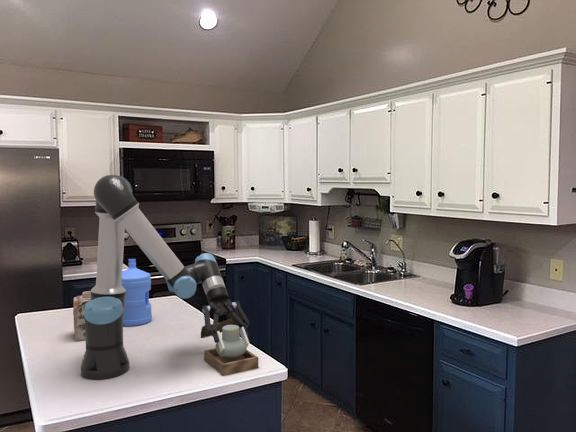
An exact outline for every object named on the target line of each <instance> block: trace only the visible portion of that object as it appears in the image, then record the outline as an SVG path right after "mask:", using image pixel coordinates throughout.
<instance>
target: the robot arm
mask: <svg viewBox="0 0 576 432" xmlns="http://www.w3.org/2000/svg"><path fill="white" fill-rule="evenodd" d="M93 196H94V199H95V208H94V209H95V211H94V213H95V214H96V216H98V218H99V223H98V225H99V226H98V239H97V240H98V241H97V258H96V274H95V276H96V277H95V278H96V279H95V285H94V286H93V287H92V288H91V289H90V291H91V298H90V301H89V302H87V303H86V305H85V310H84V317H85V340H84V341H85V351H84V353H83V358H82V362H81V364H80V375H81V376H82V377H83V378H85V379H90V380H105V379H110V378H114V377H118V376H122V374H125V373H127V372H128V371H129V370H130V360H129V357H128V354H127V352H126V349H125V347H124V346H125V345H124V326H123V317H124V313H125V308H126V306H125V292H126V290H125V289H124V288H123V287H122V272H123V264H124V252H125V251H124V250H125V249H124V247H125V231H126V232H127V233H128V234H129V236H130V237H131V239H133V241H134V242H135V243H136V244H137V246H138V247H139V248H140V249H141V251H142V252H143V253H144V254H145V256H146V257H147V258H148V259H149V261H150V262H151V263H152V265H154V267H155V268H156V270H158V272H159V273H160V274H161V276H162V277H163V278H164V279H165V281H166V285H167V289H168V291H169V292H171V293H174V294H175V295H176V296H177V297H178V298H180V299H189V298H191V297H193V296H194V295H195V293H196V291H197V285H199V284H202V287H203V290H204V293H205V296H206V300H207V303H208V305H203V307H202V309H201V312H202V315H203V318H204V326H205V329H206V334H211V336H210V337H212V338H213V341H214V343H215V344H216V343H218V346H219V349H220V352H223V351H224V349H225V347H224V344H223V341H222V334H221V333H220V331H217V325H218V323H219V317H220V316H227V317H229V318H231V319H232V320H233V321H234V322H235V323H236V325H237V326H239V333H240V338H241V339H243V340H244V341H245V343H246V347H247V348H248V347H249V345H250V341H249V338H248V337H249V332H248V329H247V328H248V327H249V326H250V324H251V323H250V320H249V318H248V317H247V315H246V313H245V312H244V310H243V309H242V307H241V303H240V301H239V300H236V301H233V302H232V300H230V296H229V293H228V290H227V288H226V285H225V282H224V278H223V277H222V274H221V271H220V267H219V266H218V262H217V260H216V258H215V256H214V255H213V254H211V253H209V252H205V253H201V254H200V255H198V256H197V257H196V258H195V260H194V263H191V264H189V265H185V266H184V264H183V263H182V262H181V260H180V258H178V257H177V255H176V254H175V253H174V252H173V251H172V249H171V248H170V247H169V245H168V244H167V242H166V241H165V239H164V238H163V237H162V236H161V235H160V234H159V233H158V231H157V229H156V228H155V227H154V225H152V224H151V222H150V221H149V219H148V218H147V217H146V215H144V213H143V212H142V211H141V209H140V208H139V206H140V203H139V202H138V201H137V199H136V198H135V196H134V195H133V188H132V185H131V183H130V182H129V180H128V179H126V178H125V177H124V176H123V175H122V176H121V175H117V174H108V175H104V176H102V177H101V178H100V179H98V180H97V182H96V183H95V185H94V187H93ZM232 307H233V308H232ZM210 311H211V312H212V313H213V321H212V323H211V316H210V314H211V313H210ZM211 324H212V325H213V326H212V329H211Z"/></svg>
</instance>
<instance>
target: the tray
mask: <svg viewBox="0 0 576 432" xmlns="http://www.w3.org/2000/svg"><path fill="white" fill-rule="evenodd" d="M203 352H204V353H203V356H204V357H203V358H204V359H203V360H204V361H205V362H206V363H207V364H208V365H209V366H210V367H212V368H213V369H214V370H215V371H217V372H218V373H219V374H220V375H221V376H223V377H224V376H228V375H230V374H231V375H233V374H236V373H241V372H245V371H249V370H254V369H255V370H256V369H259V357H258V356H257V355H256V354H254V353H252V352H251V351H250V350H248V349H246V351H245V353H244V354H242V355H241V356H239V357H236V358H223V357H221V356H220V355H219V354H218V353H217V351H216V347H215V348H210V349H204V351H203Z"/></svg>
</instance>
